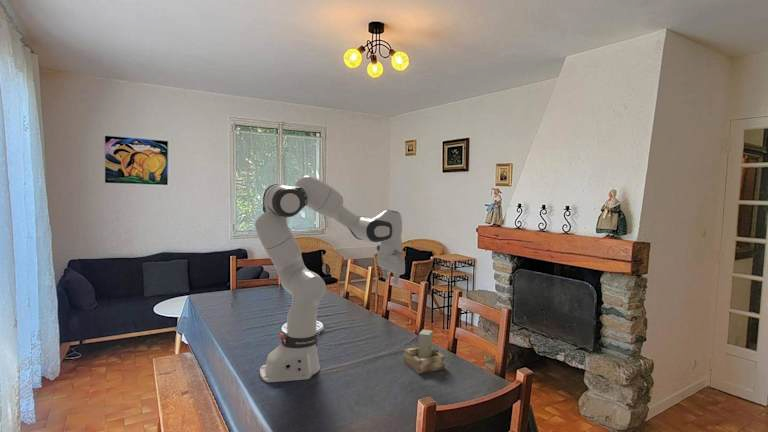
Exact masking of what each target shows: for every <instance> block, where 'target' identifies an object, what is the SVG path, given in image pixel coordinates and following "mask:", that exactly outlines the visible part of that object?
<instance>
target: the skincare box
mask: <svg viewBox="0 0 768 432" xmlns="http://www.w3.org/2000/svg"><path fill="white" fill-rule="evenodd" d="M433 331H434V330H431V329H430V330H429V329H425V328H424V329H423V328H422V330H421V331H420V332H419V333H418V347H419V348H418V358H419V359H421V358H427V357H432V347H433V343H434V342H433V335H434V334H433V333H434V332H433Z"/></svg>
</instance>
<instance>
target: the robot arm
mask: <svg viewBox="0 0 768 432" xmlns="http://www.w3.org/2000/svg"><path fill="white" fill-rule="evenodd" d="M262 195H263V196H262V211H263V212H264V213H262V214H261V215H260V216H258V217H257V219H256V220H255V222H254V226H255V230H256V233H257V236H258V238H259V240H260V242H261V245H262V247H263V248H264V251H265V252H266V253H267V255H268V257H269V260H271V263H272V264H273V266H274V267H275V270H276V273H277V275H278V279H279V282H280V284H281V286H282V288H283V289H284V290H285V291H286V292H287V293H288V294H290V295H291V296H292V299H291V305H290V308H289V311H288V312H287V314H286V315H287V316H286V333H285V334H284V332H279V334H278V338H279V339H280V340H281V343H280V344H279V345H278V346H277V347H276V348H275V349H273V350H271V352H269V353H268V355H267V358H266V362H265V364H262V366H261V367H260V368H259V376H260V379H261V380H262V381H264V382H265V383H279V382H293V381H294V382H295V381H303V380H304V381H305V380H310V379H311V378H312V377H313V376H314V375H315V374H317V373H318V372H319V371H320V370H321V365H320V361H319V356H318V343H319V339H318V338H319V337H318V332H317V323H318V322H317V319H318V317H317V316H318V309H319V304H320V300H322V298H323V297H324V296H325V293H326V291H327V290H326V289H327V286H326V282H325V280H324V279H323V278H322V277H321V276H320V274H318V273H316V272H314V271H312V270H309V268H307V266H306V265H305V263H304V259H303V256H302V249H301V247H300V245H299V244H298V242H297V240H296V238H295V236H294V235H293V233H292V230H291V229H290V227H289V225H288V223H287V222H288V220H287V218H291V217H294V216H296V215H297V214H299V213H300V212H301V211H302V210H303V208H305V207H307V208H309V209H312V210H313V211H314V212H316V213H318V214H320V215H322V216H324V217H327V218H331V219H334V220H336V222H338V223H340V224H341V225H343V226H344V227H346V228H347V229H348V230H349V232H350V233H351V234H352V236H353V237H354V238H355V239H357V240H359V241H362V240H363V241H366V242H371V243H379V242H380V243H379V244H377V245H376V251H377V252H376V259H377V260H376V261H377V266H378V267H379V268H381V272H382V278H383V279H384V280H388V279H389V273H388V272H390V273H392V274H393V276H394V277H393V279H392V284H394V285H398V284H399V279H400V276H401V275H404V274H405V273H406V260H405V257H404V255H403V253H402V251H403V250H402V249H403V246H402V245H403V244H402V242H403V241H402V234H403V218H402V214H401V213H400V212H399V211H396V210H390V209H384V210H383V211H382V212H381V213H379V214H378V215H375V216H373V217H367V216H363V215H362V216H361V215H357V214H356V213H353V212H352V211H350V210H349V209H348V208H346V207H345V206H344V198H343V196H342V194H341V193H340V192H339V191H337V190H336V189H335V188H334V187H333V186H330V185H329V184H327V182H324V181H323V180H320V179H318V178H316V177H314V176H311V175H304V176H301V177H300V178H299V179H298V180H297V181H296V183H295V184H294V185H293V186H290V185H287V184H282V183H276V184H272V185H269V187H267V188H266V189H265V191H264V192H263V194H262Z"/></svg>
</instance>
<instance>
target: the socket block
mask: <svg viewBox="0 0 768 432" xmlns="http://www.w3.org/2000/svg"><path fill="white" fill-rule="evenodd" d="M418 348H419V346H417V347H410V348H405V349H403V363H404V364H406V365H407V366H408V367H409V368H410V369H412V370H413V371H414V372H415V373H416V374H417V375H419V374H424V373H429V372H433V371H439V370H444V369H445V367H446V366H445V365H446V356H445V355H444V354H443V353H441V352H440V351H439V349H437V348H434V347H433V346H432V357H427V358H421V359H419V358H418Z"/></svg>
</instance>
